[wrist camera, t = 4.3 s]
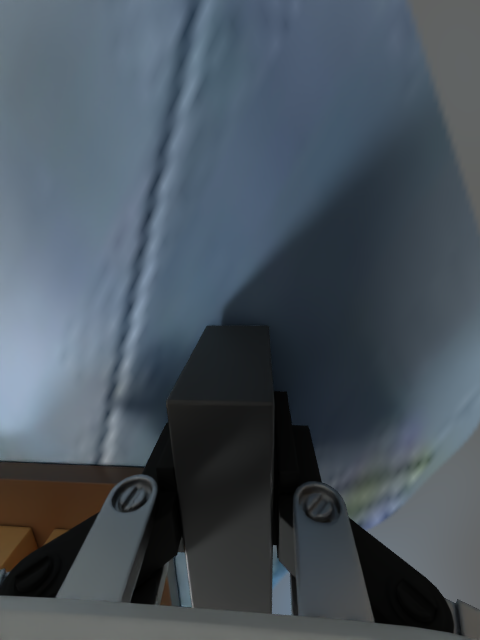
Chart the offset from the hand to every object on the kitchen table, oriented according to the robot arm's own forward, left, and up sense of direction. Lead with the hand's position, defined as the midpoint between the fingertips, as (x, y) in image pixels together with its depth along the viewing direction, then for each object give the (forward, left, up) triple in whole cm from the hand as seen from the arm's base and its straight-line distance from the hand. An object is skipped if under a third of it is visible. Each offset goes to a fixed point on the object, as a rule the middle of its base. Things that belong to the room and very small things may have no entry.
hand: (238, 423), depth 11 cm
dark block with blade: (+4, 0, -1) cm, 4 cm away
